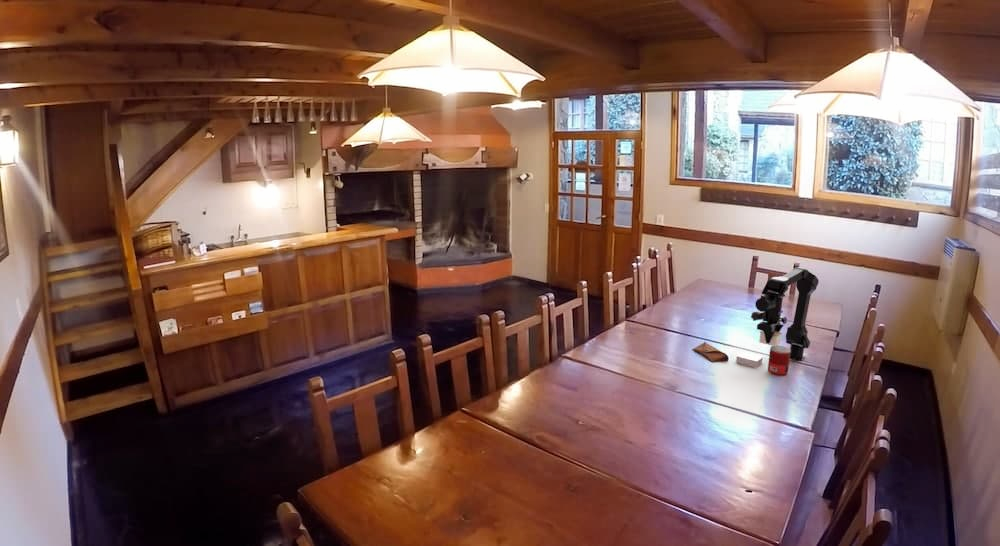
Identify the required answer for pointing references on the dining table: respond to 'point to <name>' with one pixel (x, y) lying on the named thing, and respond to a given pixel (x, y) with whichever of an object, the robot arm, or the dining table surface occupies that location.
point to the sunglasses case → (711, 353)
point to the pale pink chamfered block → (749, 359)
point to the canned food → (779, 360)
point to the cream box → (774, 340)
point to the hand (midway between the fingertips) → (769, 341)
